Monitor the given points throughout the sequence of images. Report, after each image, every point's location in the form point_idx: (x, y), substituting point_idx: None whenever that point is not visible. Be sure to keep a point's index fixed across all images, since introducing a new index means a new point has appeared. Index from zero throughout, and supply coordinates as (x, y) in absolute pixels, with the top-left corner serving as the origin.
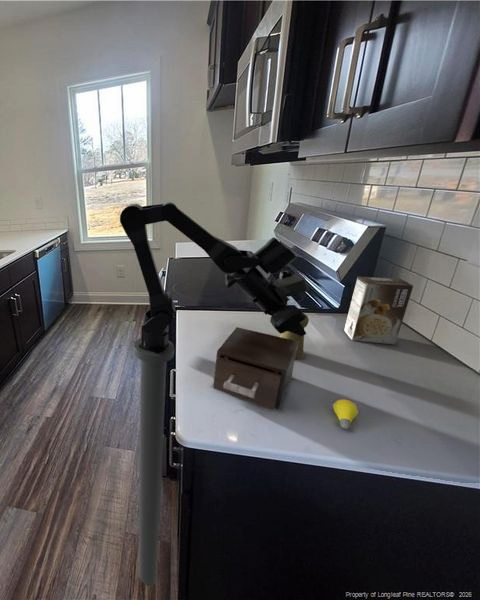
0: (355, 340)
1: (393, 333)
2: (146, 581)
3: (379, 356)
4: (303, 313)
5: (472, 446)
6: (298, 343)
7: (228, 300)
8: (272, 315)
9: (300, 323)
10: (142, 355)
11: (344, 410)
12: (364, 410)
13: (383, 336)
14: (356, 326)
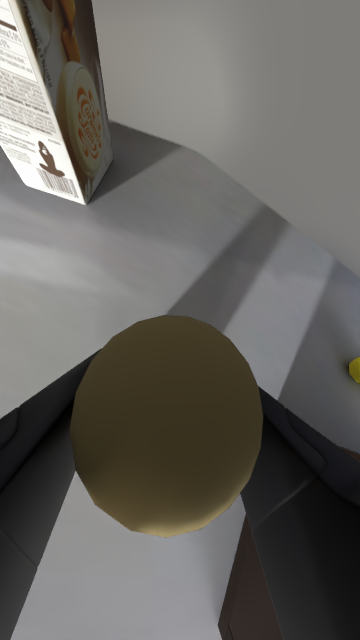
0: (88, 200)
1: (106, 128)
2: None
3: (159, 209)
4: (167, 336)
5: (341, 263)
6: None
7: None
8: (16, 610)
9: (299, 418)
10: None
11: None
12: (325, 332)
13: (103, 150)
14: (71, 157)
